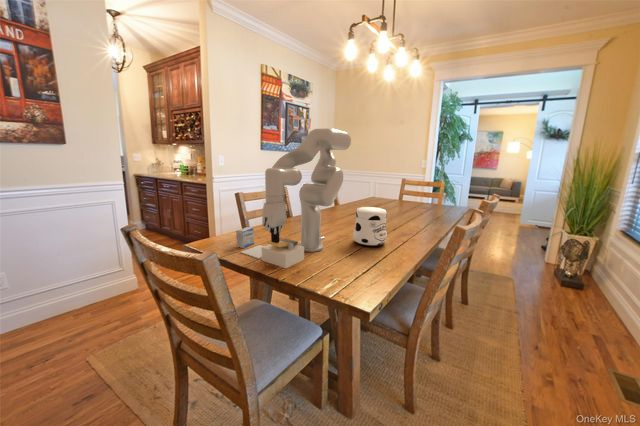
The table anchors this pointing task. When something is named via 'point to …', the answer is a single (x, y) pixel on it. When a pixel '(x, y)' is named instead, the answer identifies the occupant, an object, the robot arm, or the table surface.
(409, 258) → the table surface
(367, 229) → the milk container
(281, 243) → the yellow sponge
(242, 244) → the medicine box
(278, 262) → the switch box
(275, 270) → the table surface
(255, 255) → the pad
